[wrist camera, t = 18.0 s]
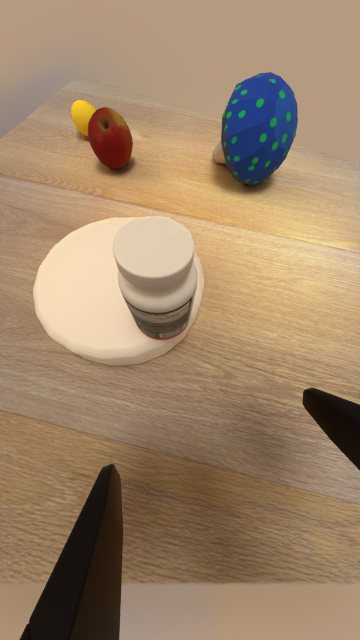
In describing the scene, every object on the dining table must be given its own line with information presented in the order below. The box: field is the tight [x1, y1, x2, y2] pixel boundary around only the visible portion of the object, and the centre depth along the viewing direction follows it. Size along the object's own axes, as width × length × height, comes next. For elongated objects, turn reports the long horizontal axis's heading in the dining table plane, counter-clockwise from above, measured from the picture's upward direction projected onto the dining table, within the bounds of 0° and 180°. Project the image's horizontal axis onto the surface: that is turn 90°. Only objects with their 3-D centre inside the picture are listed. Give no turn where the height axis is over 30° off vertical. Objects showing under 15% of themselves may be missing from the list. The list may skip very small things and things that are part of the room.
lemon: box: [71, 100, 96, 137], centre depth 40 cm, size 7×5×5 cm
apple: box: [88, 107, 133, 168], centre depth 34 cm, size 8×8×8 cm
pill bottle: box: [113, 216, 198, 340], centre depth 15 cm, size 6×6×10 cm
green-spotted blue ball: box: [213, 73, 298, 186], centre depth 33 cm, size 14×14×15 cm
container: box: [33, 217, 205, 366], centre depth 24 cm, size 20×20×5 cm
